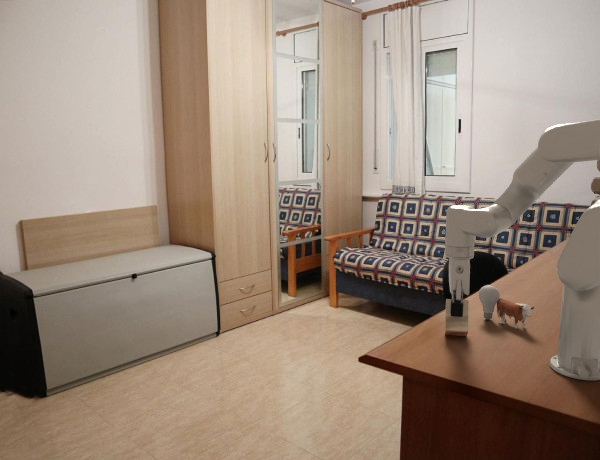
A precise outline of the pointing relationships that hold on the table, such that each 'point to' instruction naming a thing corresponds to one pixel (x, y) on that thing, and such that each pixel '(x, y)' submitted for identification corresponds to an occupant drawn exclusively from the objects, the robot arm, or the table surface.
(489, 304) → the lightbulb
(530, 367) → the table surface
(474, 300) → the table surface
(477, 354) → the table surface
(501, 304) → the bull figurine
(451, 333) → the birch block
